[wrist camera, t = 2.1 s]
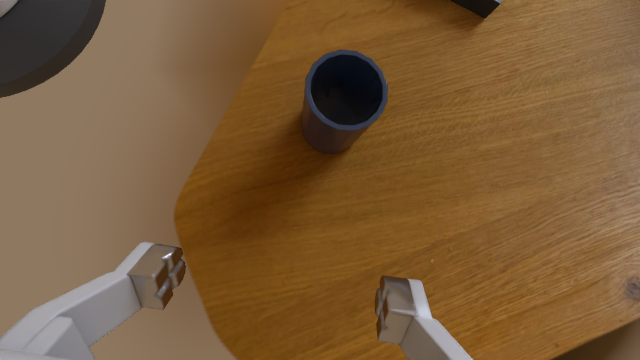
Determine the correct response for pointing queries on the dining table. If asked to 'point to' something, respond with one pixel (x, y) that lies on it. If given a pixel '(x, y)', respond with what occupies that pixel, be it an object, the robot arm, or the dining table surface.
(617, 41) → the dining table surface
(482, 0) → the scale
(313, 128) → the cup
